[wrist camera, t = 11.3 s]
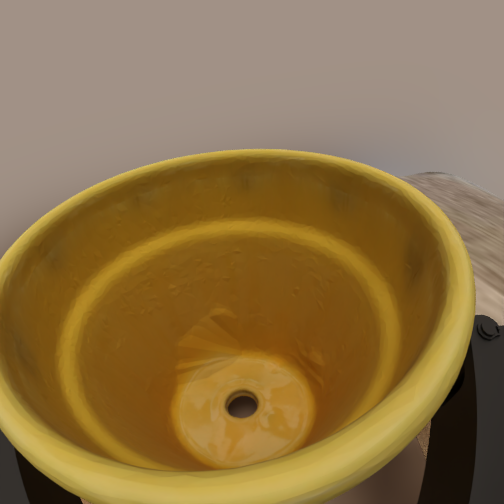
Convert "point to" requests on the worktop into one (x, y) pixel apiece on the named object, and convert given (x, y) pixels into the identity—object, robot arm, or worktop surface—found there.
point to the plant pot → (231, 329)
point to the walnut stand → (380, 483)
